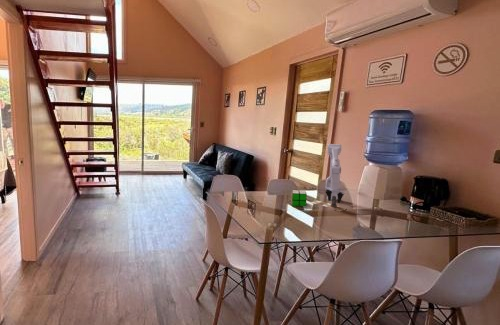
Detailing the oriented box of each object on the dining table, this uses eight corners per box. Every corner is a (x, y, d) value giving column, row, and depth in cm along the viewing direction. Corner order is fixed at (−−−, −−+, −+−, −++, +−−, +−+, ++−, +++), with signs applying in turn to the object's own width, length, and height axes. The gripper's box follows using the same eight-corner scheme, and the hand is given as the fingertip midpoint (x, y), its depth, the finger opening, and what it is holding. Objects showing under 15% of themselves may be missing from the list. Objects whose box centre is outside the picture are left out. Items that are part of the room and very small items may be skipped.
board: (317, 201, 229) (317, 200, 229) (346, 208, 211) (347, 207, 211) (309, 203, 222) (309, 202, 222) (339, 211, 204) (339, 210, 204)
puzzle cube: (304, 203, 223) (305, 190, 221) (306, 207, 213) (306, 193, 212) (291, 203, 224) (291, 190, 222) (291, 206, 214) (292, 193, 213)
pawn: (332, 205, 216) (333, 194, 215) (338, 206, 213) (338, 196, 212) (329, 206, 213) (329, 195, 212) (334, 207, 210) (335, 197, 209)
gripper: (323, 182, 213) (322, 200, 215) (341, 185, 202) (340, 205, 204) (328, 180, 218) (327, 199, 220) (346, 184, 207) (345, 203, 209)
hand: (334, 201), depth 212 cm, fingers open, 7 cm apart
